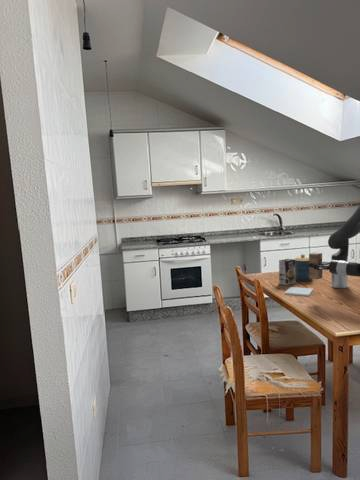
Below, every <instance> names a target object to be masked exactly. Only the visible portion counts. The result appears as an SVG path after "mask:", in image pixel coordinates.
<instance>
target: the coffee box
mask: <svg viewBox="0 0 360 480" xmlns="http://www.w3.org/2000/svg"><path fill="white" fill-rule="evenodd" d="M294 259H295V258H294ZM294 259H292V258H286V259H279V260H278V284H279V285H283V286H290V285H293V284H296V280H295V260H294Z"/></svg>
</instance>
